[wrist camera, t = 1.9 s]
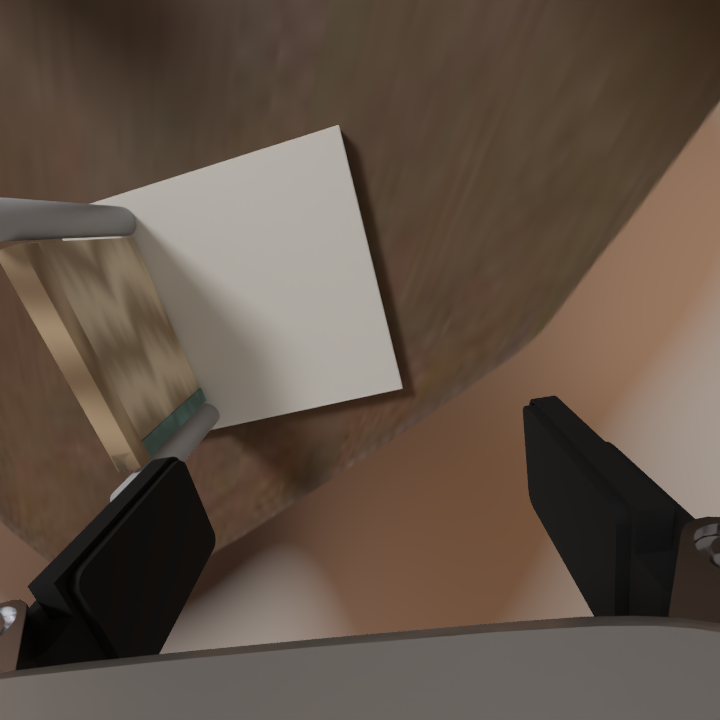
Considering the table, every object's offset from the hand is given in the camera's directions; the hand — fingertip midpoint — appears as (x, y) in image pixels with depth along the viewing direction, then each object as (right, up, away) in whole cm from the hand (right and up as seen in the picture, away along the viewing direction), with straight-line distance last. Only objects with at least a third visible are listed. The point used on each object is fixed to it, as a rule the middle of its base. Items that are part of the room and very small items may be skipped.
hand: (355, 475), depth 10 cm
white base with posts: (-11, +8, +25) cm, 29 cm away
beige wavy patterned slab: (-18, +6, +24) cm, 31 cm away
